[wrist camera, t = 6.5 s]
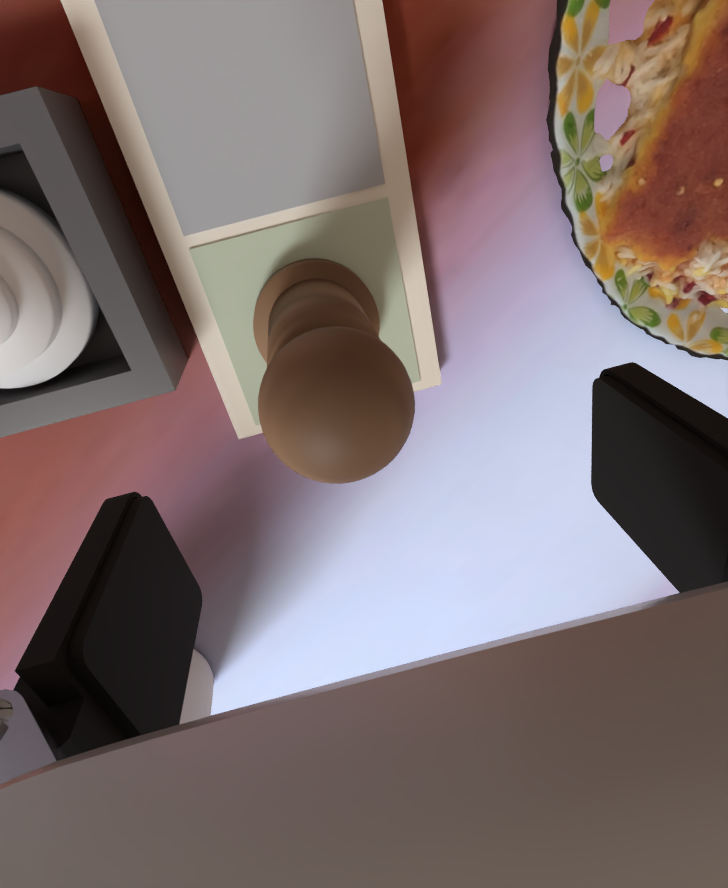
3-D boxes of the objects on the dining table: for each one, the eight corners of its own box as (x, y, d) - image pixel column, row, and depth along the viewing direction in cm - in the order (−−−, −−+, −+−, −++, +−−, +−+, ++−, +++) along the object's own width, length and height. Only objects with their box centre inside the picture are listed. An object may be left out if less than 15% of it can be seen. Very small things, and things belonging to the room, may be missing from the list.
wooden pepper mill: (275, 391, 23) (276, 548, 14) (236, 276, 21) (204, 375, 11) (385, 361, 23) (460, 497, 14) (361, 243, 21) (432, 314, 11)
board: (239, 429, 25) (238, 440, 24) (-141, -523, 12) (-177, -582, 11) (436, 376, 25) (442, 385, 24) (277, -617, 12) (277, -683, 11)
